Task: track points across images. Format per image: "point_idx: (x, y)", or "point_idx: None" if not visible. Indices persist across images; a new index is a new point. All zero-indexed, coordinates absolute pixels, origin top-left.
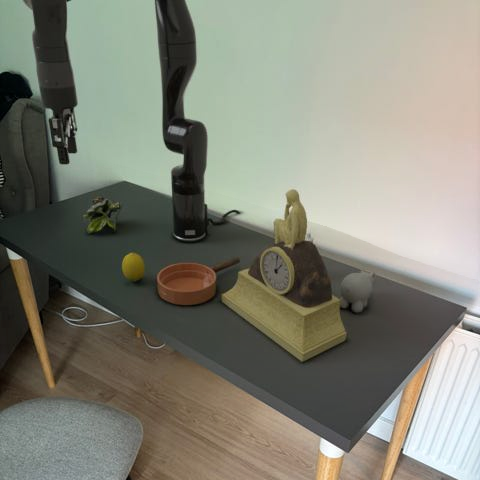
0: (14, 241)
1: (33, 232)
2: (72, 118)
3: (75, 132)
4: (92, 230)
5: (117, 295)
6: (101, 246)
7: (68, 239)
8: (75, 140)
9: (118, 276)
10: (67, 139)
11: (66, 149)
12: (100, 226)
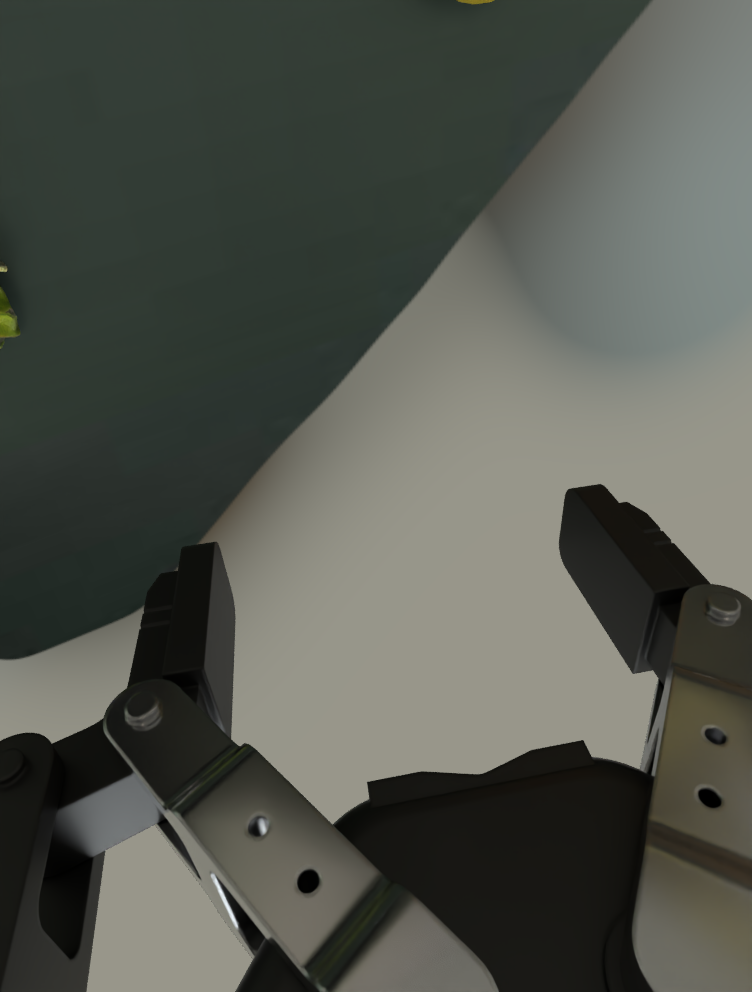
0: None
1: (76, 548)
2: (452, 975)
3: (123, 724)
4: (14, 315)
5: (579, 18)
6: (115, 233)
7: (92, 405)
8: (181, 639)
9: (408, 55)
10: (228, 711)
11: (676, 578)
12: (5, 271)
